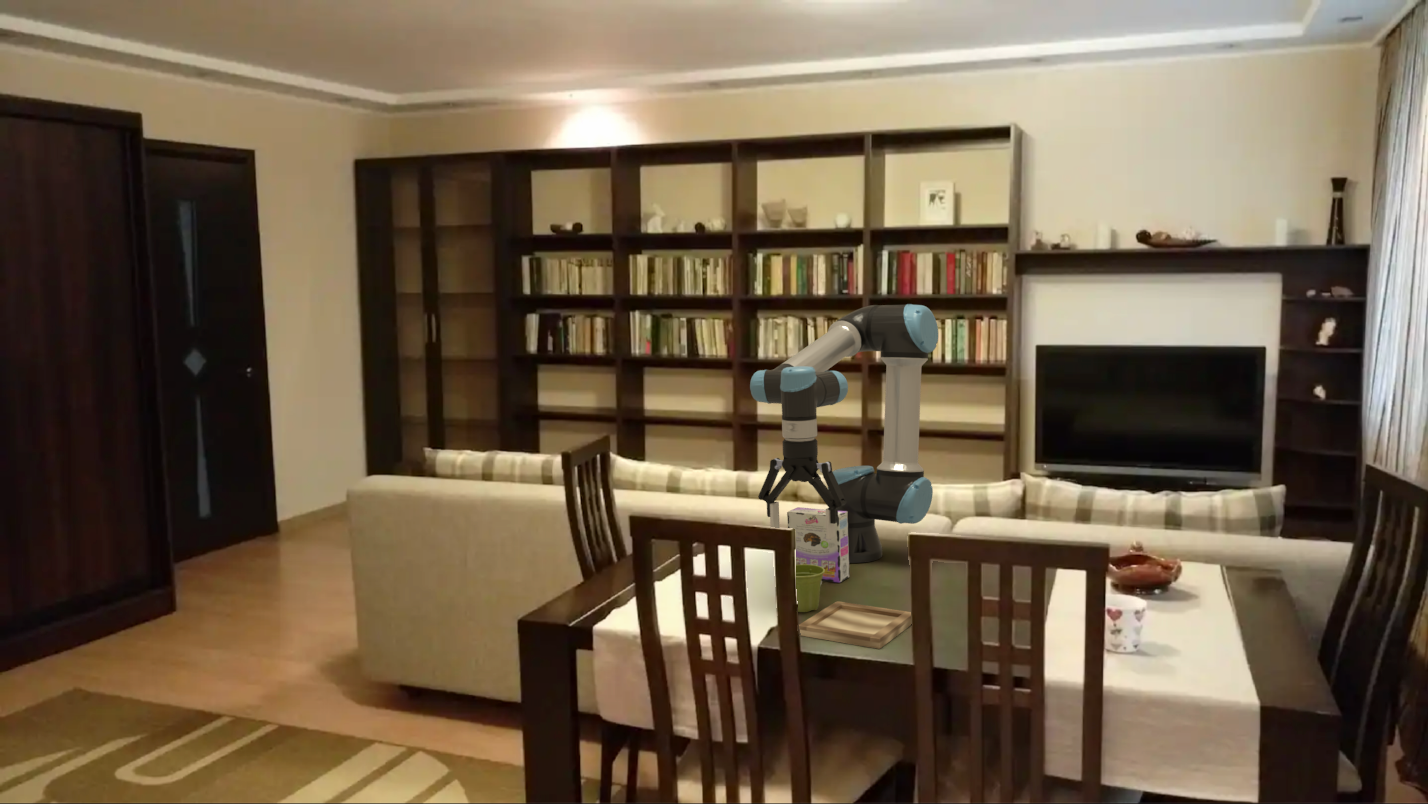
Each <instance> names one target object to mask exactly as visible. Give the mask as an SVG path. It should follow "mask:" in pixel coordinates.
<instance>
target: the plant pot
mask: <svg viewBox="0 0 1428 804" xmlns="http://www.w3.org/2000/svg"><path fill="white" fill-rule="evenodd" d="M824 572H825V569H824V568H823V567H820V566H817V565H810V564H800V565H796V589H797V601H798V613H809V612H811V611H817V610H818V609H819V604H820V603H819V602H820V594H821V593H820V592H821V583H822V581H821V580H822V577H823V574H824Z"/></svg>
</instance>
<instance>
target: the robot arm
mask: <svg viewBox="0 0 1428 804" xmlns="http://www.w3.org/2000/svg"><path fill="white" fill-rule="evenodd" d="M938 342H939V327H938V323H937V320H936V318H935V316H934V313H933V311H931V310H930V308H929V307H927V306H925V305H922V304H912V303H907V304H885V305H883V304H882V305H881V304H880V305H878V304H873V305H868V306H864V307H861V308H858V309H856V310H853V311H852V312H849V313H848V314H845V315H844V316H841V318H839V319H837V320H835V322H833V323H832V324H830V326H829V327H828V330H827V332H826V333H825V334H823V335H821V336H820V337H819V338H817V339H816V340H814V341H813V342H812V343H810V344H808V345H807V346H806V347H804V348H802V349H801V350H799V351H798V352H797V353H795V354H793V356H791V357H790V358H789V359H786V361H784V362H782V363H781V364H779V365H778V366H776V367H775V368H774V369H771V370H769V369H764V370H763V369H762V370H761V369H760V370H757V371H756V372H754V373H753V375H752V376H751V379H750V382H749V383H750V384H749V390H750V394H751V396H752V398H753V400H755V401H757V402H758V403H765V404H766V403H767V404H769V405H770V404H778V405H779V404H780V405H781V431H782V433H781V434H782V437H783V438H784V439H783V440H782V456H783V459H782V460H781V459H780V457H775V458H773V459H771V460H770V461H769V462H770V463H769V470H768V473H767V475H766V477H765V479H764V482H763V485H762V487H761V489H760V491H759V494H758V499H759V500H762V501H764V502H765V503H766V516H767V518H769V520H770V522H769V523H770V528H771V527H775V528H780V525H781V524H780V502H779V501H778V500H777V498H778V497H779V496H780V495H781V494H782V492H783V491H784V489H785V488H786V487H787V486H788V484H789V483H790V482H791V481H792V482H801V483H807V482H808V483H809V485H811V486H812V487H813V489H814V490H815V491H816V493H817V494H818V495H819V496H820V497H821V499H822V500H823V502H824V504H826V506H827V508H825V510H826V539H831V538H833V537H835V523H837V522H838V511H847V512H848V544H849V564H858V563H859V564H860V563H869V562H870V563H871V562H874V561H877V560H879V559H881V558H882V557H883V547H882V542H881V540H880V538H879V534H878V531H877V529H876V524H875V523H876V520H877V521H883V522H884V521H885V522H893V523H897V524H899V525H900V524H917V523H919V522H921V521H922V520H924V518H925V517H926V516H927V514H928V512H929V510H930V508H931V504H932V500H933V493H934V492H933V491H934V490H933V485H932V481H931V480H930V479H928V478H927V477H925V469H924V467H922V466H921V464H920V463H919V447H920V446H919V445H920V444H919V443H920V420H921V419H920V414H921V412H920V411H921V392H922V391H921V390H922V385H921V384H922V366H924V364H925V363H926V362H927V361H929V354H930V353H932V352H933V351H935V350H936V348H937V344H938ZM862 352H880V359H881V361H882V362H883V363H884V364H885V365H886V369H885V370H886V371H885V397H884V406H885V407H884V423H883V424H884V428H883V454H882V455H883V456H882V462H881V463H880V464H878V465H877V467H876V473H875V469H874V466H872V465H856V466H855V465H854V466H848V467H843V468H842V467H841V468H838V469H835V470H833V466H832V462H831V461H825V462H819V461H818V456H819V455H818V453H819V452H818V440H817V438H816V437H817V436H818V420H817V417H818V416H817V409H818V408H822V407H826V406H834V405H836V404H839V403H840V402H842V401H843V400H845V398H846V397H847V394H848V391H849V384H848V381H847V379H846V377H845V375H843V374H842V373H841V372H840V371H837V370H829V369H830V368H832V367H833V366H835V365H836V364H837V363H839V362H840V361H842V360H843V359H845V358H851V357H853V356H856V354H858V353H862ZM782 468H783V470H784V471H785V473H784V474H782V476H781V477H780V480H779V481H778V482H777V484H776V485H775V486H774V484H775V482H776V480H777V478H778V475H779V472H780V469H782ZM818 471H819V472H820V473H821V474H822V477H823V479H824V481H825V483H826V484H825V483H824V482H823V480H822V478H821V476H820V474H819V473H818ZM826 485H827V486H826ZM773 486H774V488H773ZM772 488H773V489H772Z"/></svg>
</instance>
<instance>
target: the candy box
mask: <svg viewBox="0 0 1428 804" xmlns="http://www.w3.org/2000/svg"><path fill="white" fill-rule="evenodd" d="M786 513H787V514H786V515H787V517H786V518H787V529H788V528H794V529H795V530H796V565H800V564H810V565H817V566H820V567H823V568H824V569H825V572H824V574H823V577H822V580H821V582H822V581H823V582H830V583H831V582H832V583H838V584H839V583H842V582H843V581H845V580H847V579H848V578H850V563H849V544H848V512H847V511H838V522H837V523H835V537H833V538H831V539H826V509H825V508H824V509H823V508H822V509H821V508H808V507H795V508H793V509H791V510H788V511H787V512H786Z"/></svg>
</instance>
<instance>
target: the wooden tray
mask: <svg viewBox="0 0 1428 804" xmlns="http://www.w3.org/2000/svg"><path fill="white" fill-rule="evenodd" d="M798 625H799V629H800V633H801V635H800V636H801V637H807V638H814V639H819V640H826V641H830V642H836V643H837V642H838V643H841V644H842V643H843V644H846V645H847V644H848V645H855V646H860V647H867V648H872V649H876V650H877V649H878V650H880V649H882V648H883V647H885V646H886V645H887V644H888V643H889V642H891V641H892V640H893V639H895V638H896V637H898V636H899V635H900V634H901V633H902V632H904V631H905V630H907V629H908V628H909V627H911V611H905V610H900V609H899V610H898V609H891V608H886V607H879V606H874V605H873V606H872V605H865V604H859V603H853V602H852V603H851V602H845V601H838V600H837V601H835V602H834V603H831V604H830V605H829V606H827V607H825V608H823V609H822V610H821V611H819V612H817V613H815V614H814V615H813V616H811V617H809V618H807V619H806V620H805V621H803V622H801V623H799V624H798Z"/></svg>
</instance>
